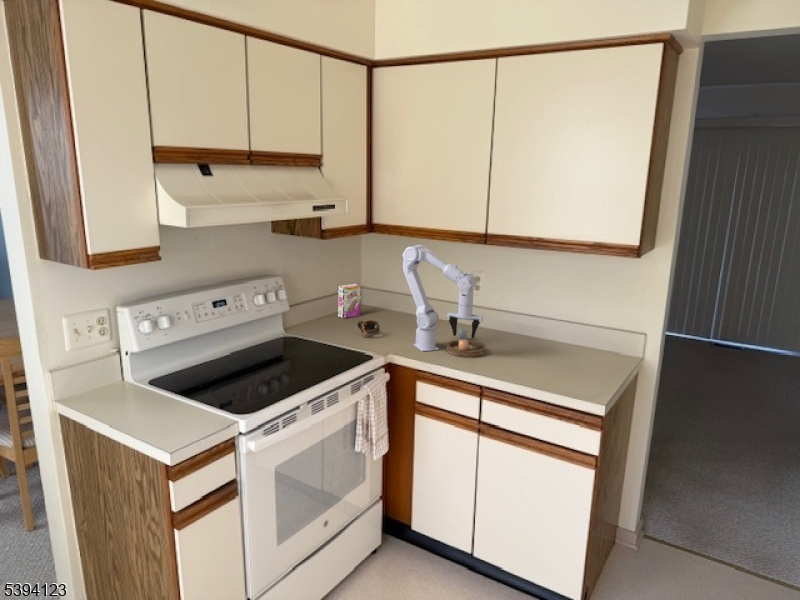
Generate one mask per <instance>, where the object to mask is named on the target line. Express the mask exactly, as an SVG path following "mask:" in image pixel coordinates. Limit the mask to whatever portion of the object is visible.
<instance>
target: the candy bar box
mask: <svg viewBox="0 0 800 600" xmlns="http://www.w3.org/2000/svg"><path fill="white" fill-rule="evenodd" d="M337 292H338V294H337V295H338V296H337V297H338V299H337V301H338V302H337V303H338V304H337V317H338V318H340V319H343V320H345V319H349V318H355V317H361V305H362V303H361V299H362V285H360V284H357V283H352V284H344V285H338V291H337Z"/></svg>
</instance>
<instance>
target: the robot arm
mask: <svg viewBox="0 0 800 600" xmlns="http://www.w3.org/2000/svg"><path fill="white" fill-rule="evenodd" d="M401 256H402V260H403V261H402V271H403V274H404V277H405V279H406V283H407V284H408V288H409V290H410V293H411V296H412V298H413V301H414V303H415V306H416V310H415V311H416V312H415V316H416V325H417V328H416V330H415V343H413V346H414V347H416V348H417V349H418V350H420V351H421V352H428V351H438V350H440V348H439V347H437V346H436V344H437V343H436V341H437V338H436V335H437V324H438V322H439V320H440V319H439V314H438V313H437V312H436V310H435V309H434V307H433V306H432V305H431V304H430V302H429V300H428V297H427V295H426V291H425V289H424V286H423V284H422V280H421V278H420V275H419V272H418V270H417V268H418V267H419V265H420V263H421V262H427V263H428V264H429V263H430V264H431V265H432V266H434V267H436V268H438V269H439V270H440V271H442V273H443V275H444V277H446V278H447V279H449V280H450V281H452V282H453V283H455V284H456V285H457V287H458V289H459V290H458V308H457V309H458V310H457V312H450V311H449V312H447V314H446V318H447V319H448V323H449V325H450V328H451V330H452V335H453V337H455V336H457V334H458V329H457V328H458V326H457V325H458V320H464V321H465V320H466V321H472V322H471V339H475V337H476V331H477V329H478V328H479V325H480V324H481V323H483V322H484V320H483V319H484V316H482V315H477V314H473V307H474V306H473V305H474V287H475V286H476V284H477V279H476V278H475V276H474V275H473V274H472V273H467V271H465V270H462V269H460V268H459V267H458V264H456V263H449V264H448V263H447V262H446V261H444V260H443V259H441V258H440V257H439V256H438V255H437V254H435V253H434V252H432V251H431V250H430V249H429V248H428V247H425V246H424V245H422V244H417V245H413V246H408V247H406V248H405V250H404V251H403V253H402V254H401Z"/></svg>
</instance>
